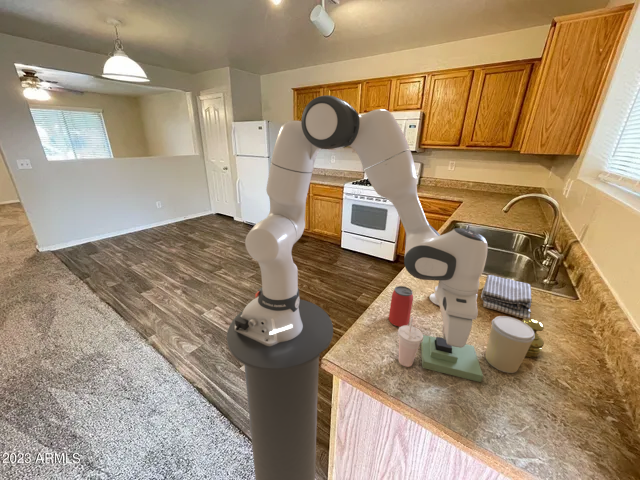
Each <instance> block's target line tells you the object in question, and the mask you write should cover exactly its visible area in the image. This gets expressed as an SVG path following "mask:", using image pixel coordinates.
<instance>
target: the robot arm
mask: <svg viewBox="0 0 640 480" xmlns="http://www.w3.org/2000/svg"><path fill="white" fill-rule="evenodd" d="M347 147H349V148H351V149H353V150H354V151H355V153H356V154H357V156H358V158H359V160H360V162H361V165H362V168H363V170H364V172H365V175H366V177H367V180H368V181H369V183H370V185H371V186H372V188H373V189H374V191H375V192H376V194H377V195H378V196H380V197H381V198H384V199H387V200H388V201H389V202H390V203H391V204H392V205H393V206H394V208H395V210H396V212H397V215H398V217H399V219H400V222H401V224H402V226H403V229H404V231H405V240H404V248H405V250H404V258H403V264H404V267H405V270H406V271H407V273H409V275H410V276H412V277H413V278H416V279H419V280H423V281H438V284H437V286H438V288H437V296H438V298H439V304H440V306H439V308H440V314H441V319H442V329H441V333H442V338H443V339H445V340H446V342H447V344H448V345H450V346H454V347H459V348H462V347H464V346H465V344H467V342H468V339H469V337H470V333H471V331H472V327H473V326H472V325H473V320H477V318H478V315H479V312H478V303H477V300H478V292H479V288H480V278H481V276H482V274H483V273H484V271H485V267H486V262H487V256H488V250H489V249H488V248H489V247H488V246H489V245H488V242H487V240H486V238H485V237H484V236H483V235H481V234H480V233H478V232H476V231H475V230H471V229H468V228H463V227H456V228H453V229H452V230H450V231H448V232H446V233H443V234H440V233H439V232H438V230H436V229H435V228H434V227H433V226H432V225H431V224H430V223H429V221H428V220H427V218H426V217H427V216H426V215H425V212H424V209H423V207H422V204H421V201H420V199H419V194H418V189H417V187H418V186H417V185H418V184H417V183H418V177H417V170H416V165H415V160H414V156H413V154H412V150H411V149H410V146H409V143H408V141H407V139H406V135H405V134H404V132H403V130H402V128H401V126H400V125H399V123H398V121H397V119H396V118H395V116H394V115H393V114H392V113H391V111H389V110H387V109H384V108H379V109H373V110H371V111H368V112H366V113H364V114H359V113H358V111H357V110H356V109H355V108H354V107H353V105H351V104H350V103H349V102H347V101H346V100H345V99H341V98H338V97H336V96H334V95H328V94H327V95H319V96H316V97H315V98H313V99H312V100H310V101H309V102H308V103H307V104H306V106H305V108H304V109H303V111H302V114H301V119H300V120H289V121H286V122H284V123H283V124H282V125H281V126H280V129H279V131H278V134H277V137H276V140H275V144H274V146H273V150H272V155H271V160H270V166H269V169H268V170H269V171H268V176H267V183H266V187H265V188H266V189H265V190H266V194H267V196H268V197H269V212H268V214H267V216H266V217H265V218H264V219H262V220H260V221H258V222H257V223H256V224H254V226H253V227H252V228H251V229H250V230H249V232H248V233H247V234H246V236H245V241H244V245H245V249H246V251H247V253H248V255H249V256H250V257H251V258H252V259H253V260H255V261H257V263H258V266H259V268H260V276H261V287H260V288H259V289H258V290H257V292H256V293H255V294H254V296H255V298H253V299H252V300H251V301H250V302H248V303H247V305H246V306H245V307H244V308H243V310H242V311H243V313H242V315H241V316H240V317H238V318H237V319H236V320H235V331H237V332H239V333H241V334H243V335H245V336H247V337H249V338H251V339H253V340H256V341H258V342H260V343H262V344H264V345H266V346H273V345H275V344H277V343H279V342H284V341H288V340H291V339H293V338H295V337H296V336H298V335H299V334H300V332H301V331H302V328H303V324H302V321H301V318H300V313H299V300H300V299H301V298H300V288H299V284H298V283H299V279H298V277H299V269H298V266H297V264H295V262H294V260H293V254H292V251H293V247H294V246H295V244H296V243H297V242H298V241H299V240H300V239H301V237H302V235H303V233H304V231H305V228H306V219H305V218H306V204H307V197H308V193H309V189H310V185H311V179H312V176H313V171H314V167H315V163H316V159H317V157H318V154H319V152H321V151H322V150H331V151H336V150H340V149H343V148H347Z"/></svg>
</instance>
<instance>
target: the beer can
mask: <svg viewBox="0 0 640 480" xmlns="http://www.w3.org/2000/svg"><path fill="white" fill-rule="evenodd" d="M413 302H414V295H413V290H412V289H411V288H410V287H407V286H403V285H398V286H396V287H394V289H393V291H392V293H391V300H390V307H389V314H388V321H389V323H390V324H391V325H393V326H395V327H398V328H400V327H401V326H404V325H410V320H411V313H412V307H413Z"/></svg>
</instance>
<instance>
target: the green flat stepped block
mask: <svg viewBox="0 0 640 480" xmlns="http://www.w3.org/2000/svg"><path fill="white" fill-rule="evenodd" d="M436 337H437V336H432V335H427V334H423V341H422V343H420V351H421V366H422V369H426V370H429V371H430V370H431V371H434V372H438V373H442V374H447V375H450V376H455V377H458V378H462V379H466V380H470V381H474V382H478V383H482V382H483V381H482V380H483V378H484V374H483V371H482V367H481V365H480V362H479V358H478V355H477V352H476V349H475V345H472V344H468V343H466V344H465V346H464V347H462V348H459V347H454V346H452V351H451V353H447V352H443V351H439V350H436V343H435V341H436Z"/></svg>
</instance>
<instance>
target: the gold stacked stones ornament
mask: <svg viewBox="0 0 640 480" xmlns="http://www.w3.org/2000/svg"><path fill="white" fill-rule="evenodd" d="M521 321H522V322H524V323H525V324H527V325H528V326H530V327H531V328H532V330H533V331H534V334H535V338H534V340H533V341H532V343H531V345H530V347H529V349H528V351H527V353H526V355H525V357H527V358H537V357H539V356H540V354H541V351H542V348H543V347H544V345H545V341H544V339H543V338H542V337H541V336H540V335H539V334H538V332H542V331H544V329H545V326H544V325H543V324H542V322H540V321H538V320H536V319H535V318H530V319H529V318H525V319H523V318H522V320H521Z"/></svg>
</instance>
